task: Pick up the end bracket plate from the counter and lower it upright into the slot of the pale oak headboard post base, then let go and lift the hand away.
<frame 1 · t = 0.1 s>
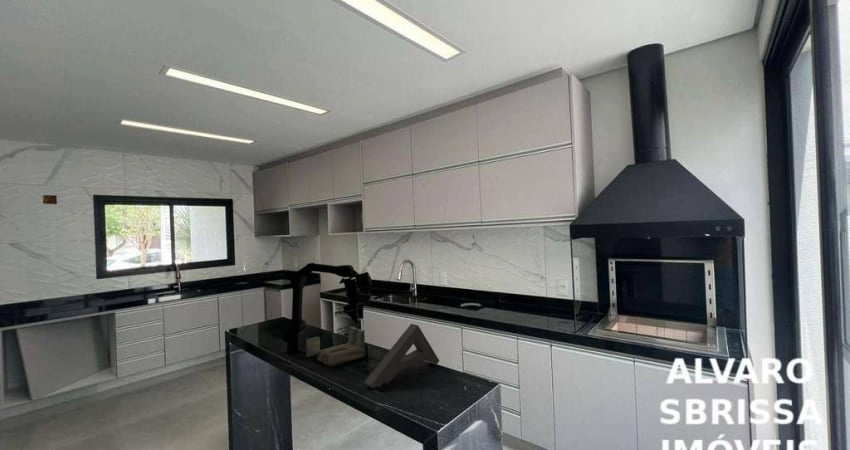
hand: (359, 321, 169), 15 cm above the table, tool pointing down, fingers open, 9 cm apart
post base: (341, 357, 161), on the table
wall bracket: (404, 375, 141), on the table
bracket plate: (313, 354, 166), on the table
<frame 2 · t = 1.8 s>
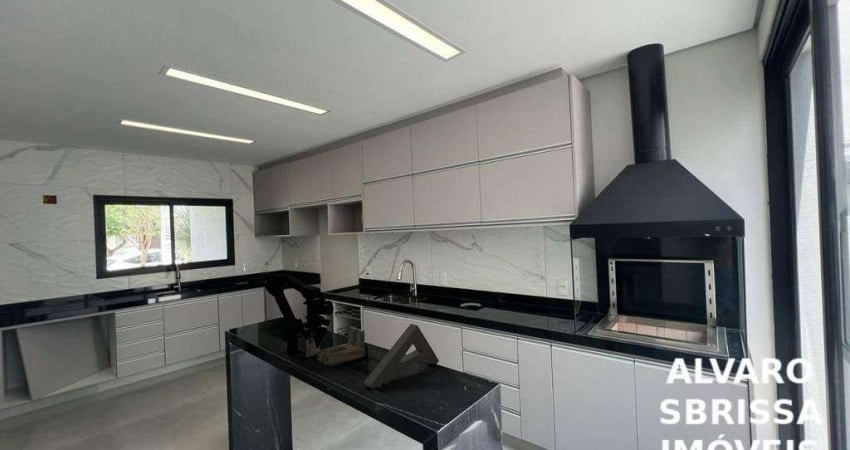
hand: (313, 346, 166), 4 cm above the table, tool pointing down, fingers open, 9 cm apart
nothing on the table moved.
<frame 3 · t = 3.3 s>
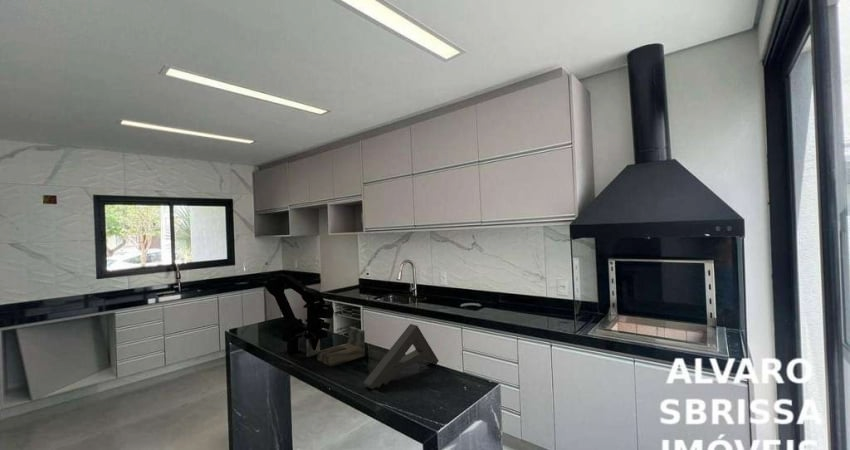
hand: (313, 349, 166), 3 cm above the table, tool pointing down, fingers closed on bracket plate, 2 cm apart
bracket plate: (313, 354, 166), on the table, touching gripper
everything else where it was.
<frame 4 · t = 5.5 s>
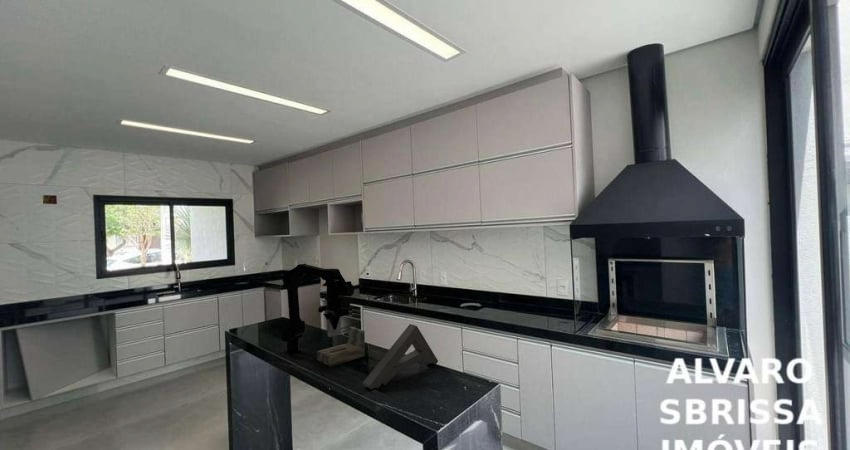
hand: (333, 328, 162), 14 cm above the table, tool pointing down, fingers closed on bracket plate
bracket plate: (334, 335, 162), point 11 cm above the table, touching gripper
everything else where it was.
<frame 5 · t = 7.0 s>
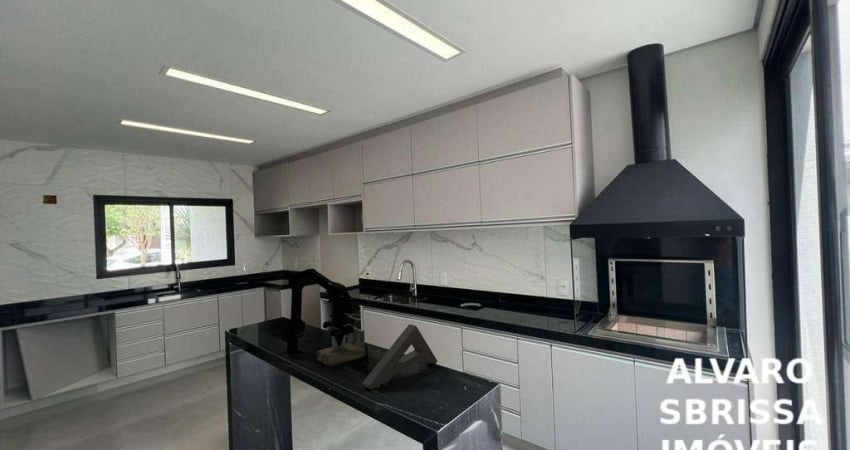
hand: (338, 345, 160), 6 cm above the table, tool pointing down, fingers closed on bracket plate, 2 cm apart
bracket plate: (338, 352, 160), point 3 cm above the table, touching gripper
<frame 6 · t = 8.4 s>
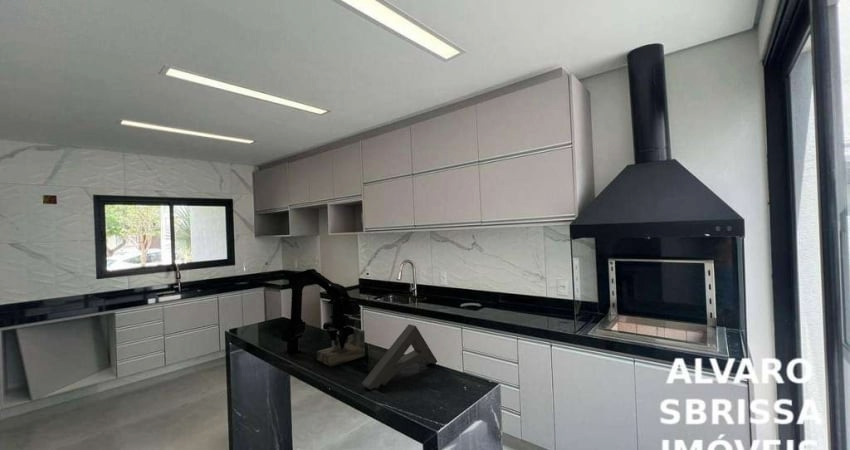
hand: (338, 346, 160), 5 cm above the table, tool pointing down, fingers open, 6 cm apart
bracket plate: (338, 356, 160), point 1 cm above the table, touching post base
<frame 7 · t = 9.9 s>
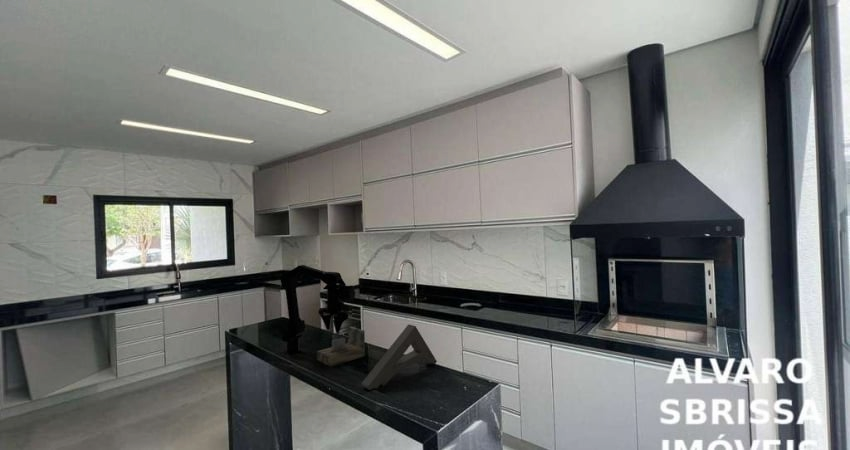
hand: (332, 331, 165), 11 cm above the table, tool pointing down, fingers open, 9 cm apart
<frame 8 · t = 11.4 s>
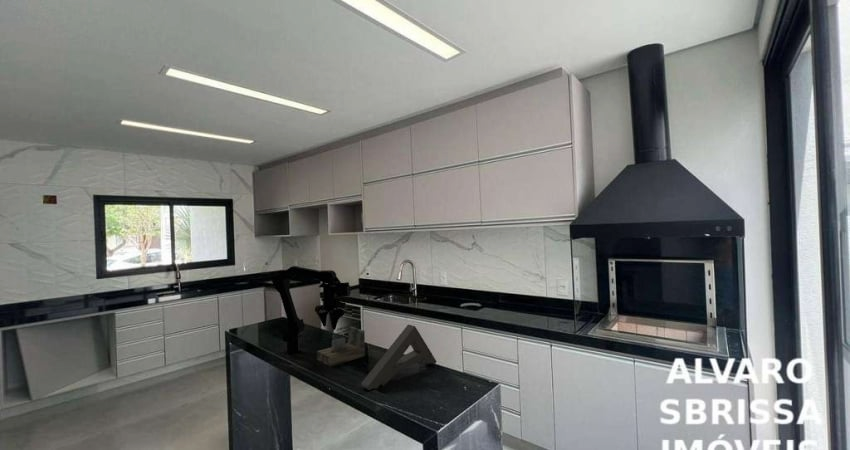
hand: (329, 328, 169), 12 cm above the table, tool pointing down, fingers open, 9 cm apart
at the end: bracket plate 0.2 cm from the target spot on the post base, point 1.0 cm above the post base's base; bracket plate tilted 0°; the gripper is holding nothing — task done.
